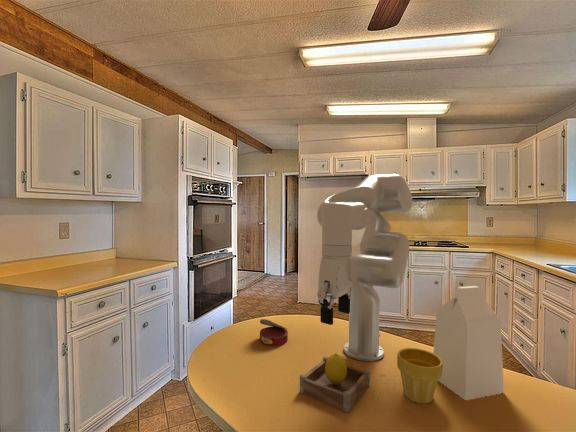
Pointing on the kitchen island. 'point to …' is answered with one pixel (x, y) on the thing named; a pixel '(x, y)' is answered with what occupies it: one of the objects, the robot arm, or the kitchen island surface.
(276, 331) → the canned food
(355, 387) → the wooden square tray
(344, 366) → the lemon
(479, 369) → the milk
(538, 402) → the kitchen island surface
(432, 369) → the plant pot
